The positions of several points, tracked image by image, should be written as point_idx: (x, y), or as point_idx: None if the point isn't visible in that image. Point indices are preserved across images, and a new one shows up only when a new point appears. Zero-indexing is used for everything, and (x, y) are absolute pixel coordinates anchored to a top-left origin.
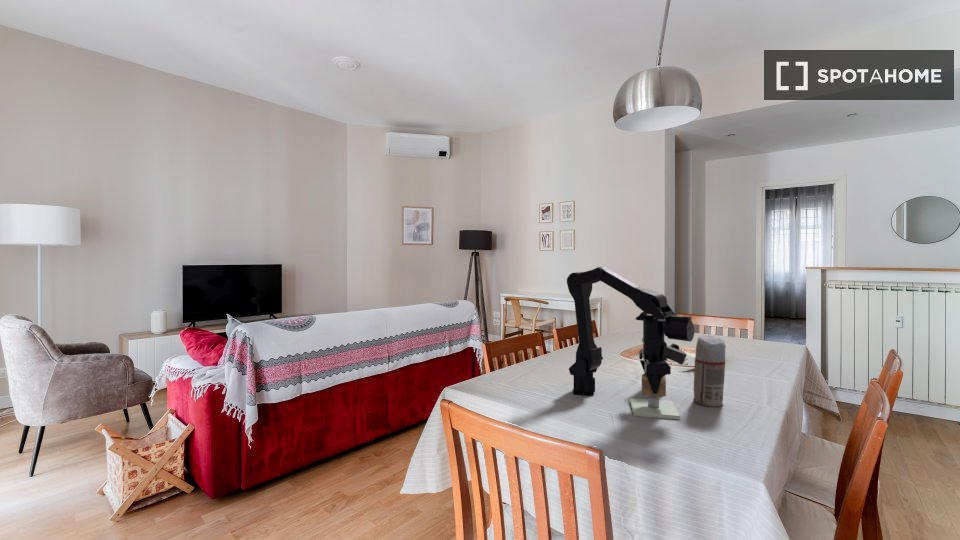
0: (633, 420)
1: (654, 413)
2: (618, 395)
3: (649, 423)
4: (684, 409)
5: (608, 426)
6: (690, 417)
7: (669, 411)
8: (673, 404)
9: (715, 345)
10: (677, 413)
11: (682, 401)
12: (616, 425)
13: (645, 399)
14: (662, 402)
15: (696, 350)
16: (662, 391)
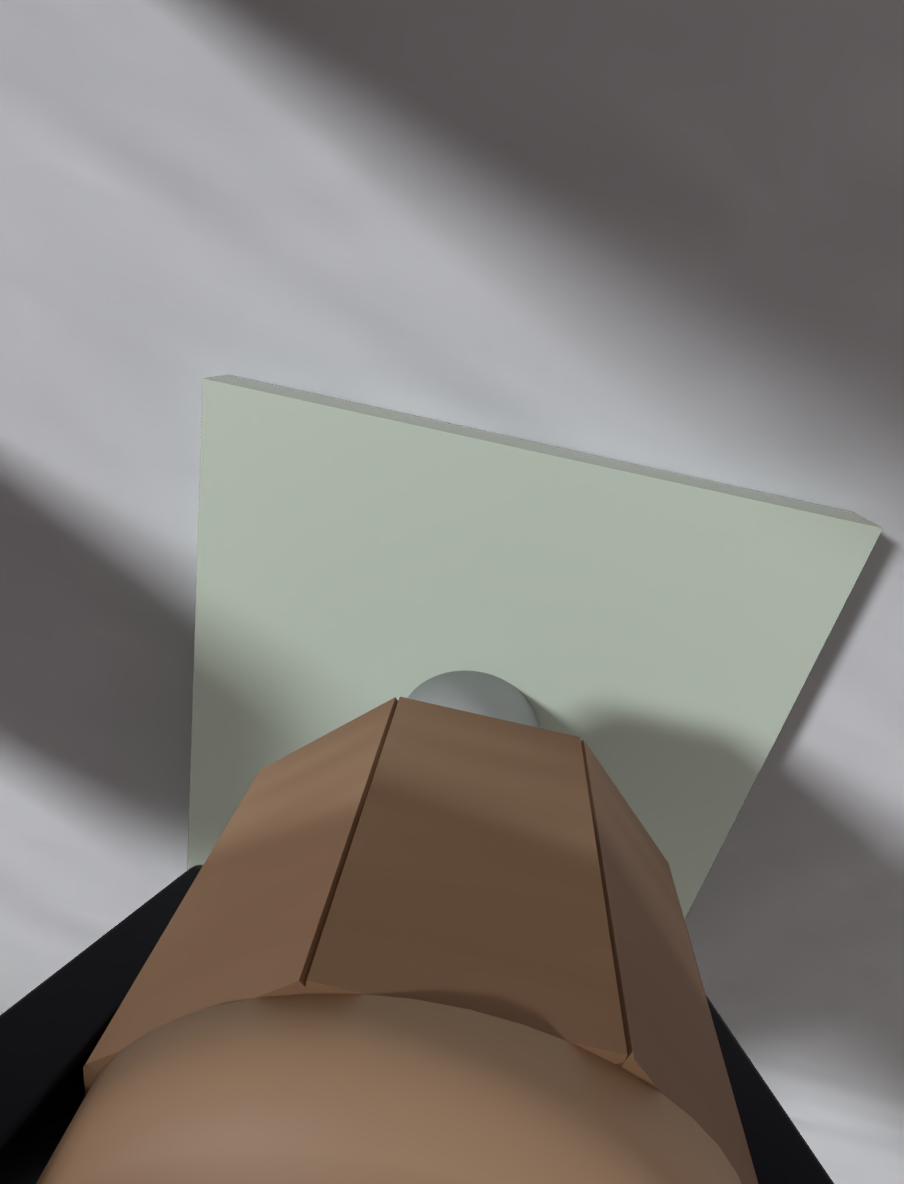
0: (766, 981)
1: (720, 811)
2: (30, 876)
3: (881, 888)
4: (439, 253)
5: (860, 1165)
6: (801, 311)
7: (676, 610)
8: (367, 421)
9: None
10: (772, 528)
11: (34, 106)
12: (854, 1119)
13: (200, 729)
14: (294, 559)
15: None
16: (657, 903)
